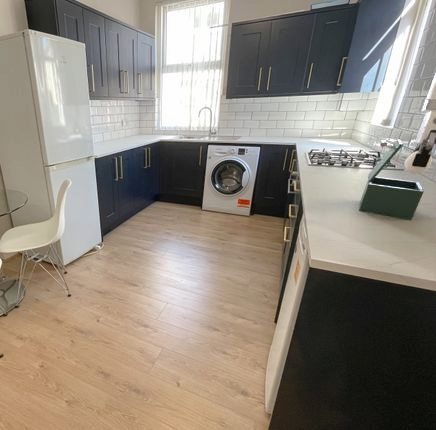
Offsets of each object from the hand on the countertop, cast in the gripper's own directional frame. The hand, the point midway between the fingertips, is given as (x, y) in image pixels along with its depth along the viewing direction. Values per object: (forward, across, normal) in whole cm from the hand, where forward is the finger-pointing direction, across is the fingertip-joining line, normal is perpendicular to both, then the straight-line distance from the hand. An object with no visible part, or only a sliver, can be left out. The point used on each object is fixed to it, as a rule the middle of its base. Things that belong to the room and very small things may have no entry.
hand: (417, 164), depth 92 cm
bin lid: (+2, +13, +7) cm, 15 cm away
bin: (+20, +13, +2) cm, 24 cm away
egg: (+3, 0, 0) cm, 3 cm away
